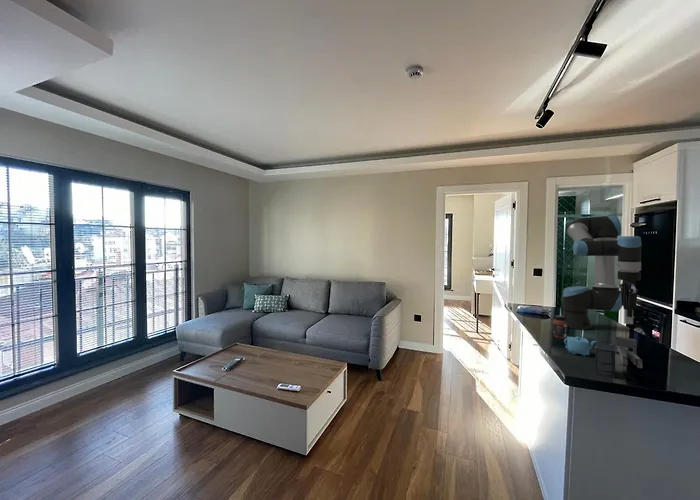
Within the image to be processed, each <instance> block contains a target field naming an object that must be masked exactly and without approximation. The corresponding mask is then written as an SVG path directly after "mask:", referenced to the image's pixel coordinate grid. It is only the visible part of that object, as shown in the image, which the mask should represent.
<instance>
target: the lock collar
mask: <svg viewBox="0 0 700 500" xmlns="http://www.w3.org/2000/svg"><path fill="white" fill-rule="evenodd" d="M613 344H614V349H615V354H617V353H618V352H617V351H618V349H617V347H623V348H627V349H632V352H634V353H635V354H636V355H637V353H638V352H637V351H638V350H637V349H638V348H637V347H638V342H637V339H636V338H630V337H622V336H615V335H614V336H613ZM637 356H638V355H637Z"/></svg>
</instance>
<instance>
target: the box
mask: <svg viewBox="0 0 700 500" xmlns="http://www.w3.org/2000/svg"><path fill="white" fill-rule="evenodd" d="M595 375H597V376H601V377H605V378H611V379H615V378H616V353H615V349H614V343H605V342H600V341H598V342H595Z"/></svg>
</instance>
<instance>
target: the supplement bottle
mask: <svg viewBox="0 0 700 500" xmlns="http://www.w3.org/2000/svg"><path fill="white" fill-rule="evenodd" d="M552 321H553V322H552V323H553V324H552V325H553V326H552V327H553V328H552V330H553V331H552V332H553V337H554V338H556V339H560V340H565V339H567V336H568V327H567V321H565V317H564V316H562V315H561V314H559V315H555V318H554V319H553V320H552Z"/></svg>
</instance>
